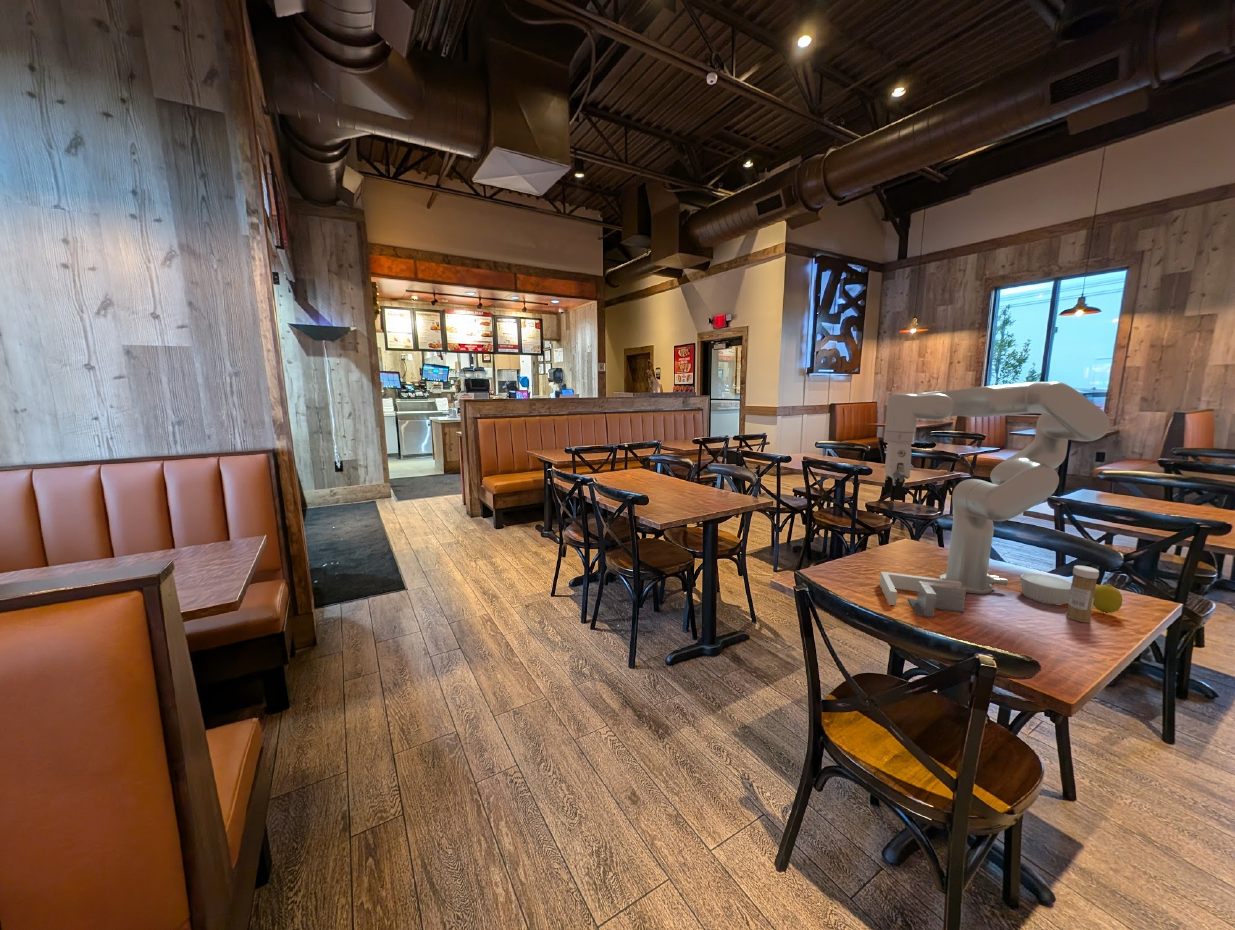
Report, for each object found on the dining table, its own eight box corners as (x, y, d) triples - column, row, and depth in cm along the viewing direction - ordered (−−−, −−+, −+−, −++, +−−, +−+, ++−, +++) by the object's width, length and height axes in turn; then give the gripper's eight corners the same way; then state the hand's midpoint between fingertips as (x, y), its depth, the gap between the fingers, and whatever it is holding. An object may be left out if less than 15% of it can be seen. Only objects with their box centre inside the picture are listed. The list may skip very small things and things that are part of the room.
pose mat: (959, 606, 125) (959, 605, 125) (973, 624, 116) (973, 622, 116) (907, 599, 129) (907, 598, 129) (916, 615, 120) (916, 614, 120)
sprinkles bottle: (1095, 622, 117) (1104, 570, 115) (1081, 624, 116) (1090, 572, 114) (1073, 613, 122) (1082, 564, 119) (1060, 615, 121) (1068, 565, 118)
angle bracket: (960, 608, 123) (963, 586, 122) (971, 622, 116) (974, 599, 115) (916, 602, 127) (919, 581, 126) (924, 615, 119) (926, 592, 118)
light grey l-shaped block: (958, 594, 132) (959, 581, 132) (976, 618, 119) (979, 603, 118) (879, 584, 139) (880, 571, 138) (888, 605, 125) (890, 591, 125)
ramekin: (1011, 587, 138) (1014, 570, 137) (1060, 593, 134) (1063, 576, 133) (1027, 603, 128) (1030, 584, 127) (1080, 610, 123) (1083, 591, 123)
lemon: (1114, 620, 118) (1120, 590, 117) (1085, 611, 123) (1090, 582, 122) (1123, 615, 121) (1128, 586, 119) (1094, 607, 125) (1099, 578, 124)
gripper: (922, 441, 124) (915, 504, 127) (907, 435, 140) (901, 491, 143) (890, 439, 127) (883, 501, 130) (879, 434, 143) (873, 489, 146)
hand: (893, 496), depth 136 cm, fingers open, 9 cm apart
